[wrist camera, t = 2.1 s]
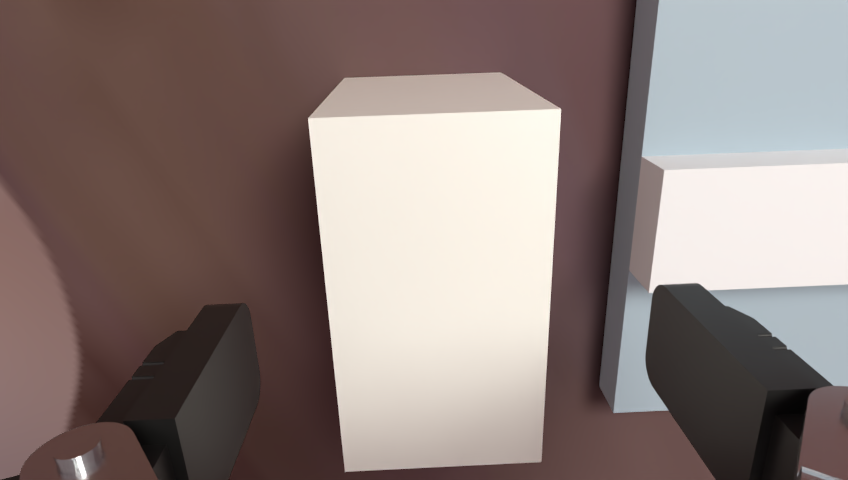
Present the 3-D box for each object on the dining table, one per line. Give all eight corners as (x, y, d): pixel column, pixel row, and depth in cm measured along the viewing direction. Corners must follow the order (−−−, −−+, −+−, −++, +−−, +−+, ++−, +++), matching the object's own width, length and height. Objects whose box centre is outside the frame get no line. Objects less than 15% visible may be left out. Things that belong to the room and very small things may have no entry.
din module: (344, 78, 16) (308, 118, 10) (500, 72, 17) (561, 108, 10) (363, 322, 19) (345, 472, 13) (496, 316, 20) (541, 462, 13)
